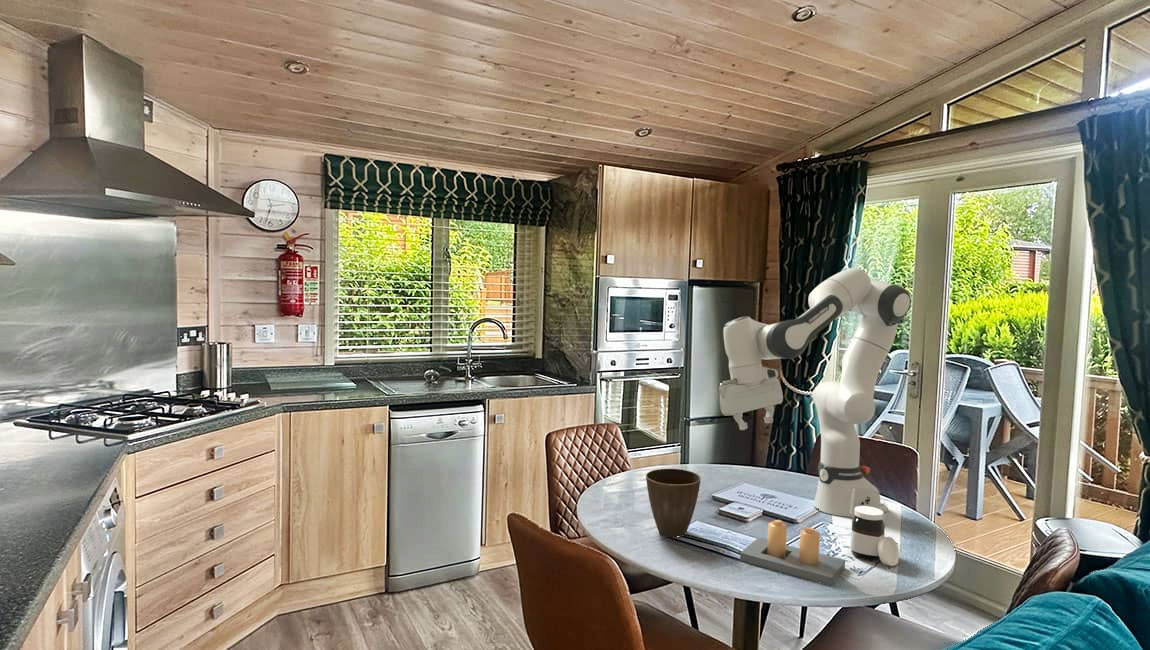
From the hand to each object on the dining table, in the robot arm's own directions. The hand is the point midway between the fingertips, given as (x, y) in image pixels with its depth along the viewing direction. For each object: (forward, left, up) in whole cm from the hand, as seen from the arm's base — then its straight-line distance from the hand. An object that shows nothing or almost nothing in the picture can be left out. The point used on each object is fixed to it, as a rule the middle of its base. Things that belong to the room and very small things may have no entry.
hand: (756, 426), depth 177 cm
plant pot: (+21, -8, -31) cm, 38 cm away
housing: (+2, +19, -30) cm, 36 cm away
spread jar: (-21, +22, -31) cm, 43 cm away
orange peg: (+4, +16, -30) cm, 34 cm away
